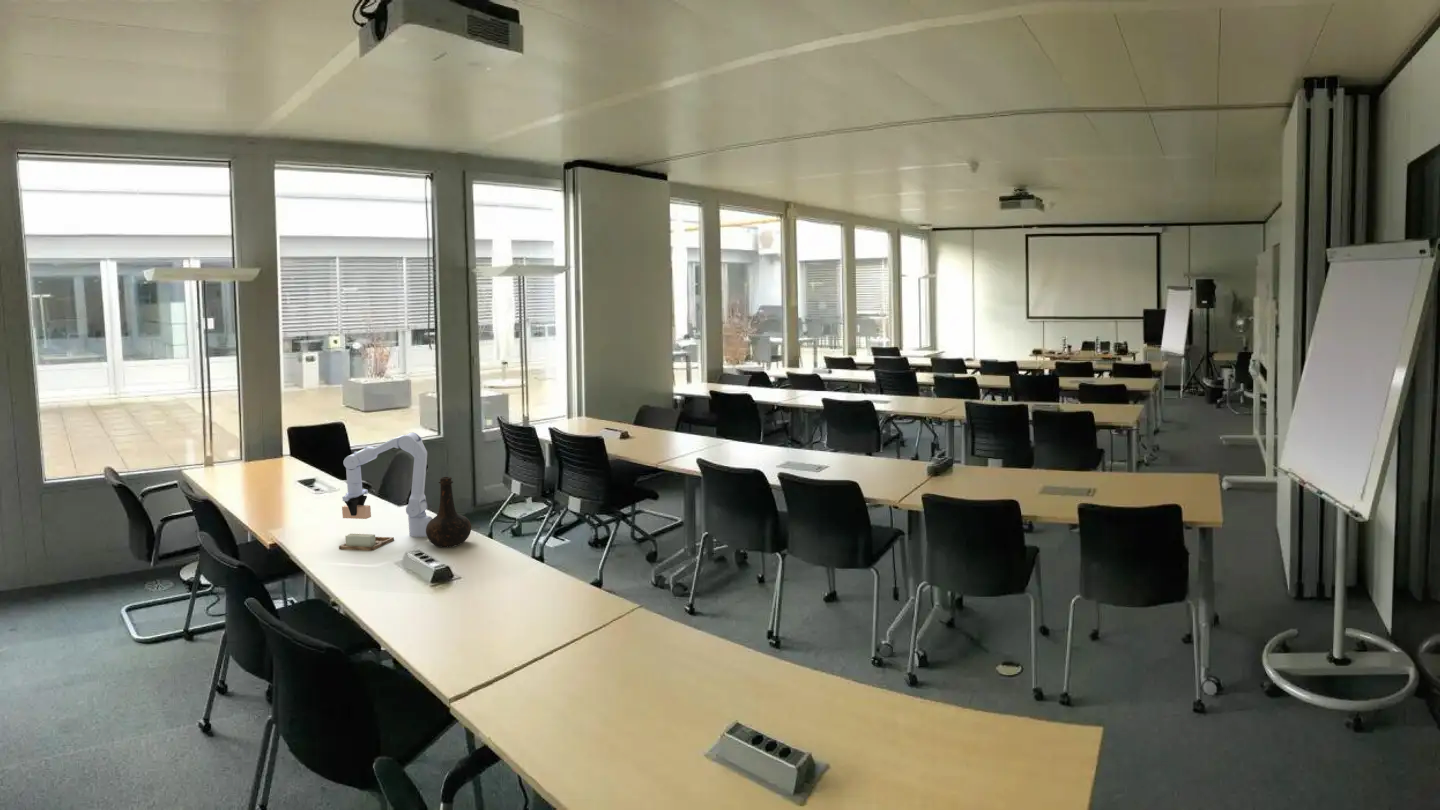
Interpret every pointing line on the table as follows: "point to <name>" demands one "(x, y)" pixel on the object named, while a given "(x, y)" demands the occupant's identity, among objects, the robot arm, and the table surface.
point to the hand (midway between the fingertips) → (356, 514)
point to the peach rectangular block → (362, 512)
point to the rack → (379, 542)
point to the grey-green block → (360, 540)
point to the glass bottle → (447, 520)
